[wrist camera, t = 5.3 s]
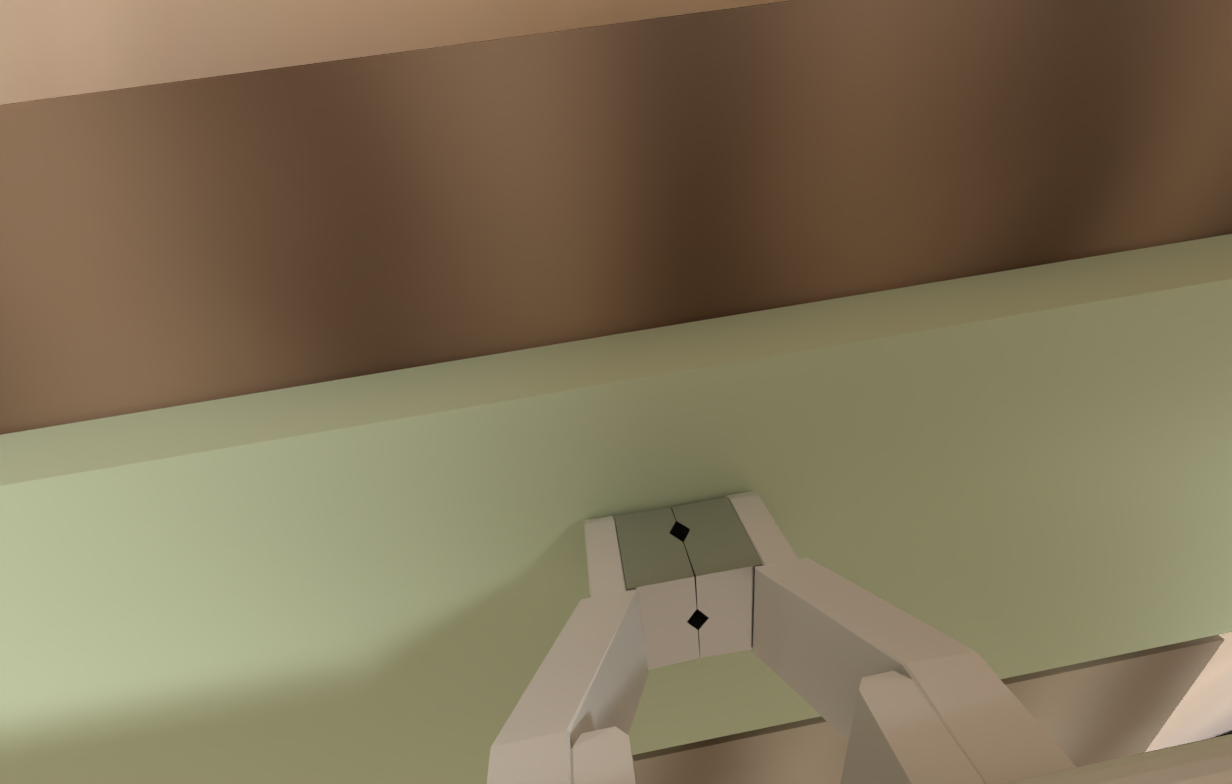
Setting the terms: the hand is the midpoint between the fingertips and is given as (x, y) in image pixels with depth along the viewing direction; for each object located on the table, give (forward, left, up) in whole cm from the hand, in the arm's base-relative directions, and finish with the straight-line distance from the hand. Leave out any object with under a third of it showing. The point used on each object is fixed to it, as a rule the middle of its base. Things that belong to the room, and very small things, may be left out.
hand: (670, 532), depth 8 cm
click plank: (0, +2, -2) cm, 3 cm away
